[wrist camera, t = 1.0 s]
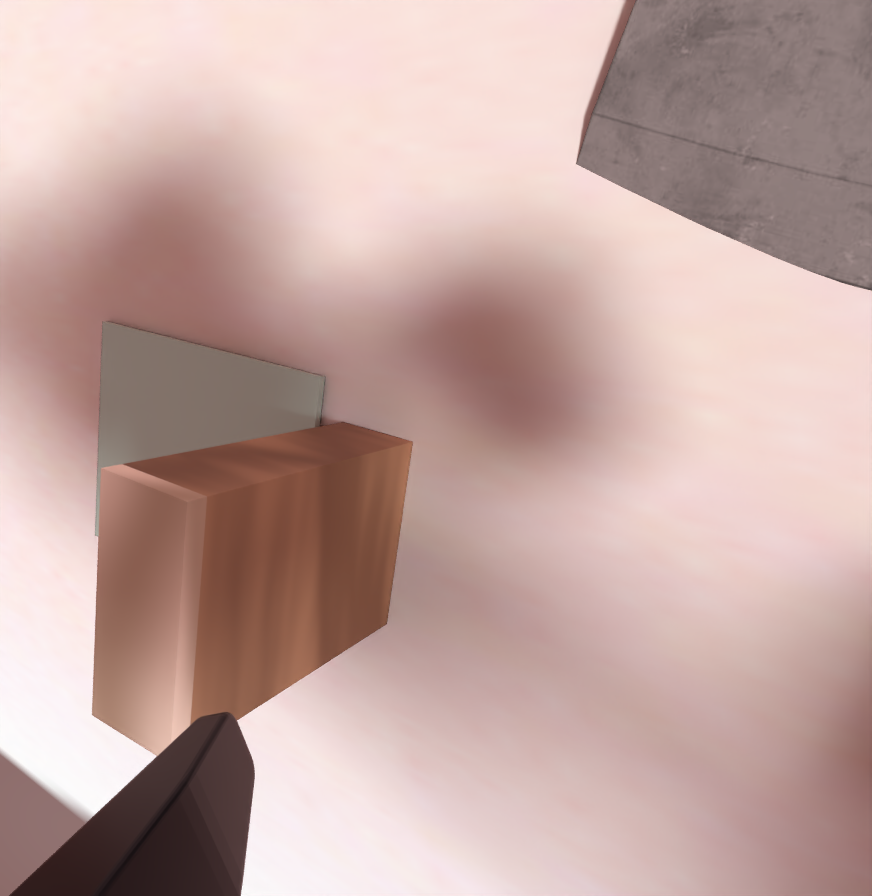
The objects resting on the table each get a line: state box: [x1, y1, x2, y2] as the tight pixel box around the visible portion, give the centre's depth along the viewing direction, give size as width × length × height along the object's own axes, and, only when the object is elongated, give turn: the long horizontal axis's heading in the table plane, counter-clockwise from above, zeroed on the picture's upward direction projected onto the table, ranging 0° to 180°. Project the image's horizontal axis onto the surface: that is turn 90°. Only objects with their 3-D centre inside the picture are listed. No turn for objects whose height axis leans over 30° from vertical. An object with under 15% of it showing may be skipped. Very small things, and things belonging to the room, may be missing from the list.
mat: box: [95, 322, 325, 537], centre depth 30 cm, size 12×10×1 cm
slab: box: [92, 422, 413, 756], centre depth 22 cm, size 3×7×10 cm, turn 170°
